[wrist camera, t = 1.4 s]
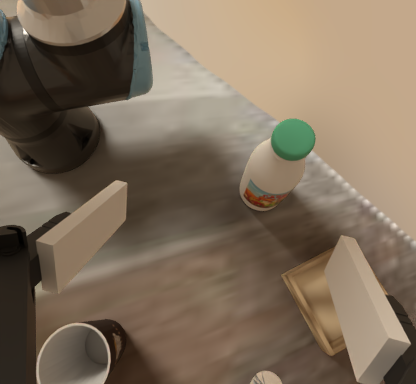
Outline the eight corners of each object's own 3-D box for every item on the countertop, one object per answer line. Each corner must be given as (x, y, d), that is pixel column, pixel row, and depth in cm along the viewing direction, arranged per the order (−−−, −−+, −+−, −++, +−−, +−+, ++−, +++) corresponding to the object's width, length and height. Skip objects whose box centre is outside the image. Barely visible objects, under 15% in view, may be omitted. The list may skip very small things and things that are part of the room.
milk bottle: (230, 187, 48) (244, 130, 29) (262, 162, 50) (296, 92, 30) (258, 220, 46) (294, 184, 27) (291, 194, 48) (346, 140, 29)
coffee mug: (87, 306, 42) (52, 315, 33) (139, 318, 42) (119, 331, 32) (61, 390, 39) (13, 428, 30) (117, 404, 39) (88, 447, 29)
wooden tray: (280, 274, 44) (286, 275, 40) (342, 242, 45) (353, 239, 42) (321, 349, 41) (331, 356, 37) (385, 312, 42) (401, 315, 39)
